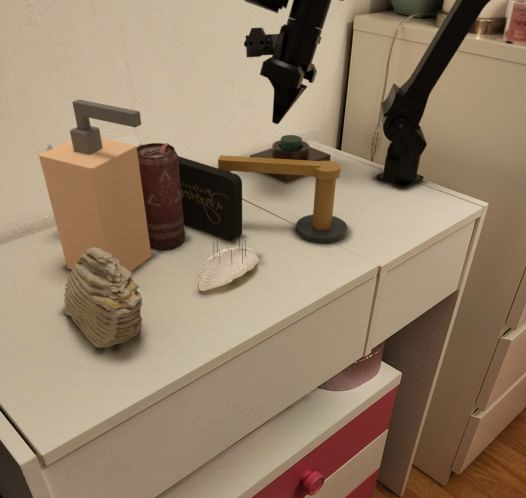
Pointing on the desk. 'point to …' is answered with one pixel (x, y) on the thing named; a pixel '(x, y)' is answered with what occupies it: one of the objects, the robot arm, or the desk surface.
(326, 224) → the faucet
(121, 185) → the soap dispenser
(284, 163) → the spout
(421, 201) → the desk surface
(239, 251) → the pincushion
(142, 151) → the can
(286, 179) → the button box
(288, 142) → the button
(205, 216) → the nameplate
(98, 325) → the fossil tooth
